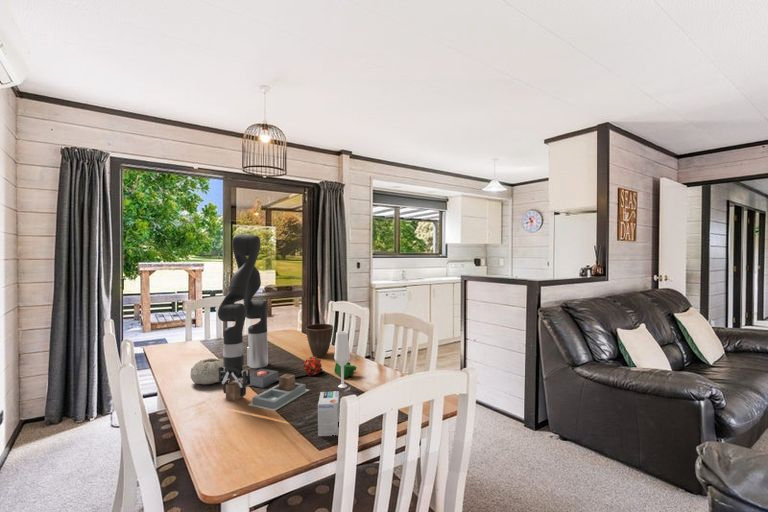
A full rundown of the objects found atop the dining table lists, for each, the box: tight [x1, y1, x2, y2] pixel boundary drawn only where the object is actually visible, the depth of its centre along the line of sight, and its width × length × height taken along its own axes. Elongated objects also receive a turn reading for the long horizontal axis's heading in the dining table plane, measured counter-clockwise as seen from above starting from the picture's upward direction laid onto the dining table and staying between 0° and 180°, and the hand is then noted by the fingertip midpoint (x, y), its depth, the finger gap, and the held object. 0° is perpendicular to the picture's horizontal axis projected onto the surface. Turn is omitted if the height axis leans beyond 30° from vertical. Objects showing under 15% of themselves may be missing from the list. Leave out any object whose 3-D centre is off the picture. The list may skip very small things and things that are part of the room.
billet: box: [278, 373, 296, 391], centre depth 161 cm, size 4×4×7 cm
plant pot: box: [305, 323, 334, 358], centre depth 217 cm, size 15×15×16 cm
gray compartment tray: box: [247, 382, 310, 412], centre depth 157 cm, size 13×22×4 cm, turn 156°
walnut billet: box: [225, 380, 243, 402], centre depth 157 cm, size 4×4×7 cm
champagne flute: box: [333, 330, 351, 392], centre depth 168 cm, size 7×7×24 cm
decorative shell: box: [190, 357, 226, 386], centre depth 178 cm, size 18×18×10 cm
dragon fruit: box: [303, 356, 323, 377], centre depth 187 cm, size 8×8×12 cm
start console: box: [246, 368, 280, 389], centre depth 174 cm, size 10×10×5 cm
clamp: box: [334, 361, 357, 379], centre depth 186 cm, size 12×6×9 cm, turn 24°
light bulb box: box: [317, 390, 340, 437], centre depth 133 cm, size 11×7×11 cm, turn 5°
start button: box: [257, 371, 267, 376], centre depth 174 cm, size 4×4×4 cm
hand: (234, 394), depth 156 cm, fingers open, 8 cm apart
